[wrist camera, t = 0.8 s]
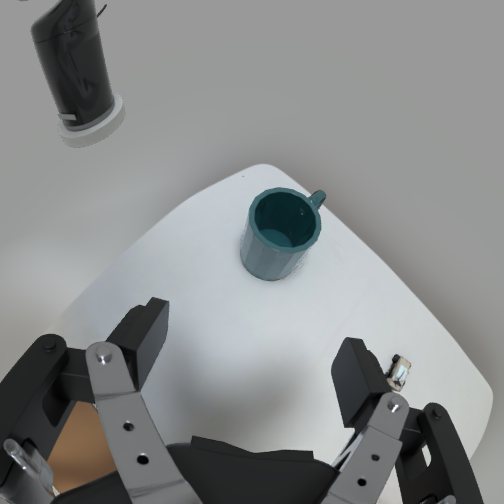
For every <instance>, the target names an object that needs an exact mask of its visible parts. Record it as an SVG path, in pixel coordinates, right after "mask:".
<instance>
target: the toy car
mask: <svg viewBox="0 0 504 504" xmlns="http://www.w3.org/2000/svg"><path fill="white" fill-rule="evenodd" d="M393 362H394V367H393V369H392V371H391V373H390V374H389V375H388V374H385V377H386V379H387V381H388V384H389V386H390V387H391V388H392V389H394V390H395V391H398V392H399V391H401V389H402V388H403V386H404V384H405V382H404V380H405V378H406V376H407V374H408V373H409V369H410V367H411V363H410V362H409V361H407V360H406V359H405V358H404V357H402V356H401V357H400V356H399V355H398V354H396V355H395V356H394V357H393ZM405 381H406V380H405Z"/></svg>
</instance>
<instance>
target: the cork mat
mask: <svg viewBox="0 0 504 504" xmlns="http://www.w3.org/2000/svg"><path fill="white" fill-rule="evenodd" d="M47 463H48V464H49V465H50V467H51V468H52V471H53V475H54V479H53V484H52V485H53V486H54V487H55V488H56V489H57V491H58V492H59V493H60V494H61V493H63V492H65V491H68V490H70V489H73V488H76V487H78V486H81V485H83V484H86V483H88V482H90V481H93V480H95V479H97V478H100V477H102V476H104V475H106V474H108V473H110V472H113V471H115V470H117V467H116V465H115V462H114V459H113V457H112V454H111V451H110V449H109V446H108V443H107V440H106V437H105V434H104V431H103V428H102V425H101V421H100V418H99V414H98V411H97V410H96V408H95V407H94V406H93V404H92V403H87V402H80V401H77V403H76V405H75V407H74V408H73V410H72V412H71V414H70V416H69V418H68V420H67V422H66V424H65V426H64V427H63V429H62V431H61V433H60V435H59V437H58V439H57V441H56V444H55V446H54V448H53V450H52V452H51V454H50V456H49V458H48V460H47Z"/></svg>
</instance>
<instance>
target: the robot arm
mask: <svg viewBox="0 0 504 504" xmlns="http://www.w3.org/2000/svg"><path fill="white" fill-rule="evenodd" d="M19 1H27V0H19ZM106 6H107V5H105V6H104V7H103V9H102V10H101V11H100V12H99V13H98V14H97V15H96V8H95V2H94V0H59V1H58V2H57V3H56V4H55V5H54V6H53V7H52V8H51V9H49V11H47V12H46V13H44V14H43V15H42V16H41V17H40V18H39V19H37V20H36V21H35V22H34V24H33V25H32V27H31V35H32V39H33V42H34V45H35V49H36V52H37V55H38V58H39V61H40V64H41V67H42V69H43V72H44V75H45V78H46V80H47V83H48V86H49V89H50V91H51V94H52V96H53V98H54V101H55V104H56V106H57V108H58V111H59V113H60V114H58V116H59V118H60V119H62V121H63V124H64V126H65V128H66V129H67V130H69V131H74V132H75V131H82V130H86V129H89V128H91V127H93V126H95V125H97V124H99V123H100V122H102V121H103V120H104V119H106V118H107V117H108V116H109V115H110V114H111V112H112V111H113V109H114V107H115V99H114V96H113V94H112V90H111V86H110V81H109V77H108V73H107V68H106V64H105V59H104V54H103V49H102V44H101V39H100V33H99V28H98V21H97V18H98V16H99V15H100V14H101V13H102V12H103V10H104V9H105V8H106ZM168 317H169V301H166V300H162V299H159V298H155V297H152V298H151V299H150V301H149V302H148V303H147V305H146V306H142V305H138V306H136V307H134V308H132V309H130V310H129V312H128V313H127V314H126V315H125V317H124V318H123V319H122V320H121V323H119V324H118V325H117V327H116V328H115V329H114V330H113V332H112V333H111V334H110V336H109V337H108V338H107V340H106V341H105V342H97V343H94V344H92V345H90V346H89V347H88V348H87V350H82V349H74V348H68V347H67V345H66V342H65V340H64V339H63V338H62V337H61V336H59V335H56V334H45V335H42V336H40V337H39V338H38V339H37V340H36V341H35V342H34V343H33V344H32V345H31V346H30V348H29V349H28V350H27V351H26V352H25V353H24V355H23V356H22V357H21V358H20V359H19V360H18V361H17V363H16V364H15V365H14V366H13V367H12V369H11V370H10V371H9V372H8V374H7V375H6V376H5V377H4V379H3V380H2V381H1V383H0V498H2V499H4V500H6V501H7V502H8V503H10V504H376V502H377V500H378V498H379V496H380V494H381V492H382V490H383V488H384V486H385V484H386V482H387V480H388V478H389V476H390V473H391V471H392V469H393V467H394V464H395V469H396V473H397V477H398V482H399V487H400V491H401V496H402V501H403V504H484V503H483V500H482V496H481V493H480V490H479V487H478V484H477V481H476V479H475V476H474V473H473V470H472V468H471V465H470V463H469V460H468V457H467V455H466V452H465V450H464V448H463V445H462V443H461V441H460V438H459V436H458V434H457V431H456V429H455V427H454V425H453V423H452V421H451V418H450V416H449V414H448V412H447V411H446V409H445V408H444V407H443V406H441V405H440V404H437V403H428V404H427V405H426V406H425V407H424V409H423V410H419V409H414V408H410V407H409V404H408V402H407V401H406V399H405V398H404V397H402V396H401V395H399V394H397V393H393V392H392V390H391V388H390V386H389V384H388V381H387V379H386V377H385V375H384V373H383V371H382V368H381V367H380V364H379V362H378V360H377V358H376V357H375V356H374V355H373V353H372V352H371V351H370V350H367V348H366V346H365V344H364V342H363V340H362V339H357V338H350V337H346V338H345V339H344V341H343V343H342V345H341V347H340V349H339V351H338V353H337V355H336V357H335V359H334V361H333V364H332V368H331V375H332V379H333V383H334V387H335V391H336V395H337V399H338V403H339V407H340V411H341V415H342V420H343V424H344V428H354V429H355V432H354V433H353V434H352V435H351V437H350V438H349V440H348V442H347V443H346V445H345V446H344V448H343V449H342V451H341V452H340V454H339V455H338V456H337V458H336V459H335V461H334V462H333V463H332V465H329V464H327V463H325V462H322V461H320V460H317V459H314V456H313V451H301V450H278V451H270V452H261V453H253V452H249V451H246V450H244V449H241V448H238V447H235V446H233V445H230V444H228V443H225V442H222V441H216V440H211V439H207V438H202V437H197V436H192V440H191V443H175V444H170V445H166V446H165V444H164V442H163V441H162V439H161V437H160V435H159V433H158V431H157V429H156V426H155V424H154V422H153V420H152V418H151V416H150V414H149V411H148V409H147V407H146V405H145V402H144V400H143V398H142V396H141V394H140V391H141V389H142V387H143V385H144V383H145V381H146V379H147V377H148V375H149V373H150V370H151V368H152V366H153V364H154V362H155V360H156V358H157V356H158V354H159V352H160V350H161V348H162V346H163V344H164V342H165V340H166V336H167V331H168ZM77 401H80V402H87V403H94V404H96V407H97V411H98V414H99V418H100V421H101V425H102V428H103V431H104V434H105V437H106V440H107V443H108V446H109V449H110V451H111V454H112V457H113V459H114V462H115V465H116V467H117V470H115V471H113V472H110V473H108V474H106V475H104V476H102V477H100V478H97V479H95V480H93V481H90V482H88V483H86V484H83V485H81V486H78V487H76V488H73V489H70V490H68V491H65V492H63V493H61V494H59V495H57V496H56V497H55V495H54V492H53V488H52V484H53V479H54V475H53V471H52V468H51V467H50V465H49V464H48V463H47V460H48V458H49V456H50V454H51V452H52V450H53V448H54V446H55V444H56V441H57V439H58V437H59V435H60V433H61V431H62V429H63V427H64V426H65V424H66V422H67V420H68V418H69V416H70V414H71V412H72V410H73V408H74V407H75V405H76V403H77ZM426 444H427V446H428V449H429V452H430V455H431V462H430V464H429V466H428V467H427V465H426V461H425V458H424V455H423V452H422V448H423V447H424V446H425V445H426Z"/></svg>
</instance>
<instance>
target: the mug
mask: <svg viewBox="0 0 504 504" xmlns="http://www.w3.org/2000/svg"><path fill="white" fill-rule="evenodd" d="M325 198H326V194H325V192H324V191H322V190H318V191H316V192H315V193H314V194H312V195H311V196H310V197H308V198H307V197H306V196H305V195H303V194H301V193H299V192H297V191H295V190H293V189H288V188H280V187H279V188H273V189H269V190H265V191H264V192H262V193H261V194H260V195H258V196H257V197H256V198H255V199H254V201H253V202H252V204H251V206H250V208H249V212H248V216H247V221H246V225H245V229H244V234H243V238H242V243H241V250H240V251H241V259H242V262H243V264H244V266H245V268H246V269H247V270H248V271H249V272H250V273H251V274H252V275H254V276H255V277H257V278H260V279H263V280H268V281H274V280H279V279H282V278H284V277H286V276H287V275H288V274H289V273H290V272H291V271H292V270H293V269H294V268H295V267H296V266H297V265H298V263H299V262H300V261H301V260H302V258H303V257H304V256H305V255H306V254H307V252H308V251H309V250H310V249H311V247H312V246H313V245H314V243H315V242H316V241H317V239H318V236H319V234H320V231H321V219H320V215H319V213H318V209H319V208H320V206H321V205H322V203H323V202H324V200H325Z"/></svg>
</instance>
